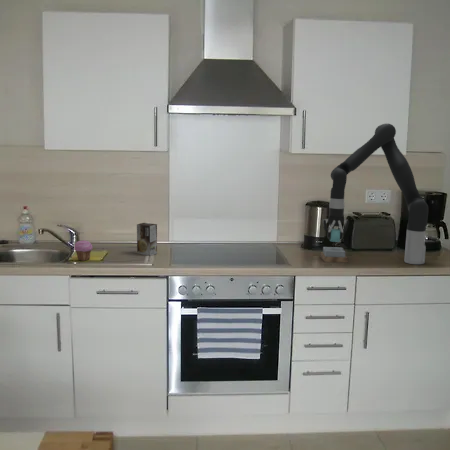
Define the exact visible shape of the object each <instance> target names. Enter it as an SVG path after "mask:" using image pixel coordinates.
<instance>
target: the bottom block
mask: <svg viewBox="0 0 450 450" xmlns="http://www.w3.org/2000/svg"><path fill="white" fill-rule="evenodd" d="M319 257H320V258H321V259H322V261H323V262H324V263H348V262H349V261H348V260H349V258H348V256H347V255H346V254H345V257H325V255H324V253H323V251H321V252H319Z"/></svg>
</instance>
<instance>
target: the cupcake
mask: <svg viewBox="0 0 450 450" xmlns="http://www.w3.org/2000/svg"><path fill="white" fill-rule="evenodd" d="M73 247H74V248H73V249H74V251H75V253H76V255H77V259H78V260H79V261H83V262H84V261H87V260H90V259H91V252H92V250H93V249H94V248H93V245H92V243H91V242H90V241H88V240H79V241H76V242H75V243H74V246H73Z"/></svg>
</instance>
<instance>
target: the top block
mask: <svg viewBox="0 0 450 450" xmlns="http://www.w3.org/2000/svg"><path fill="white" fill-rule="evenodd" d="M322 252H323V253H324V255H325V257H345V255H346V251H345V250H344V248H343V247H336V246H335V247H334V246H333V247H332V246H323V247H322Z"/></svg>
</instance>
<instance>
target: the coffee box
mask: <svg viewBox="0 0 450 450" xmlns="http://www.w3.org/2000/svg"><path fill="white" fill-rule="evenodd" d="M136 254H137V255H144V256H154V255H157V254H158V224H157V223H150V222H149V223H148V222H141V223H138V224H137V223H136Z"/></svg>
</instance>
